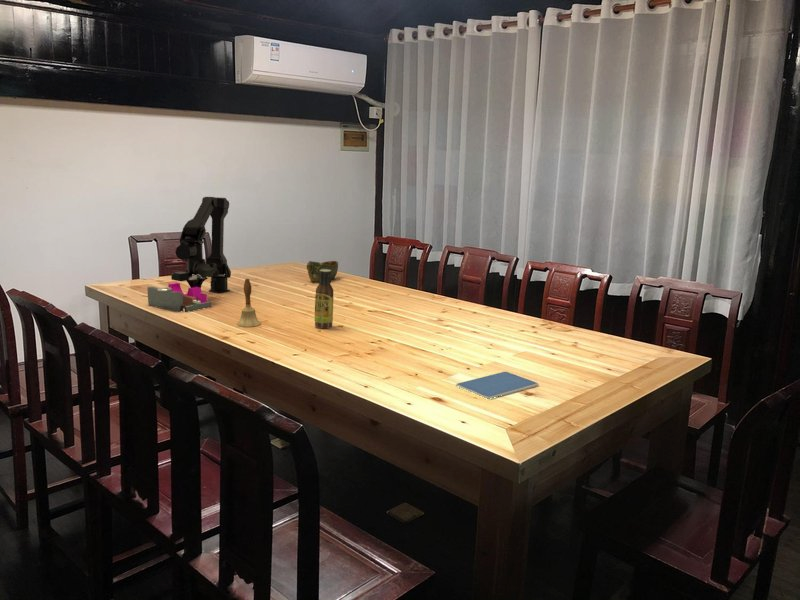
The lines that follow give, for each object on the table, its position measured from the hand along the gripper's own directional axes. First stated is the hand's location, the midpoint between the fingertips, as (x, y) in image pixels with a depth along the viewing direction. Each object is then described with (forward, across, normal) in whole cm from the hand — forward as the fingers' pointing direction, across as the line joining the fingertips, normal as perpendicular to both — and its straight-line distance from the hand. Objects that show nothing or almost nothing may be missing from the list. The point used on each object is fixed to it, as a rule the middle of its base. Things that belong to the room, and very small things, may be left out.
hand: (196, 295), depth 255 cm
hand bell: (+3, -11, -41) cm, 42 cm away
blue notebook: (+4, -14, -137) cm, 138 cm away
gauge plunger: (+2, -8, -1) cm, 8 cm away
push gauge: (+3, -9, 0) cm, 9 cm away
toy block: (+3, -4, 0) cm, 5 cm away
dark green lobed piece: (+3, +69, -5) cm, 69 cm away
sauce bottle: (+3, +3, -63) cm, 63 cm away
